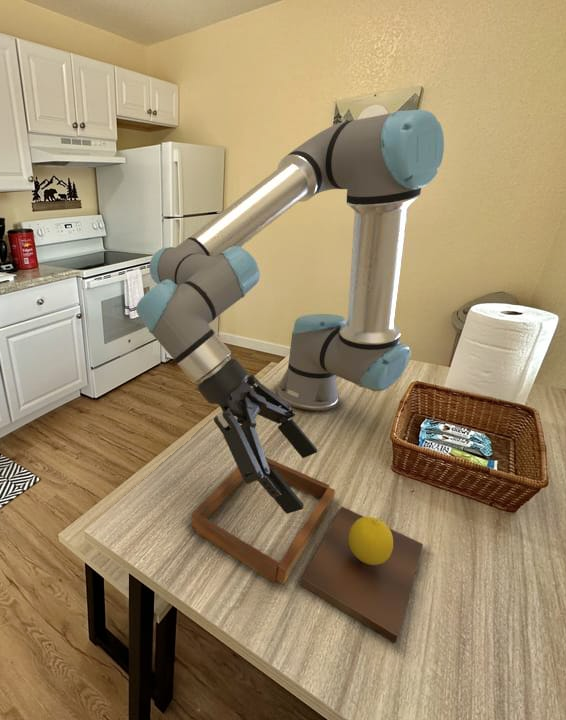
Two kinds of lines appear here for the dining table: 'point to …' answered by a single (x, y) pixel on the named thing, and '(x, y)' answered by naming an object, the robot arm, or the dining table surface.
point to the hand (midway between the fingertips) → (303, 479)
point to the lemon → (371, 540)
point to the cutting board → (364, 577)
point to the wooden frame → (244, 550)
